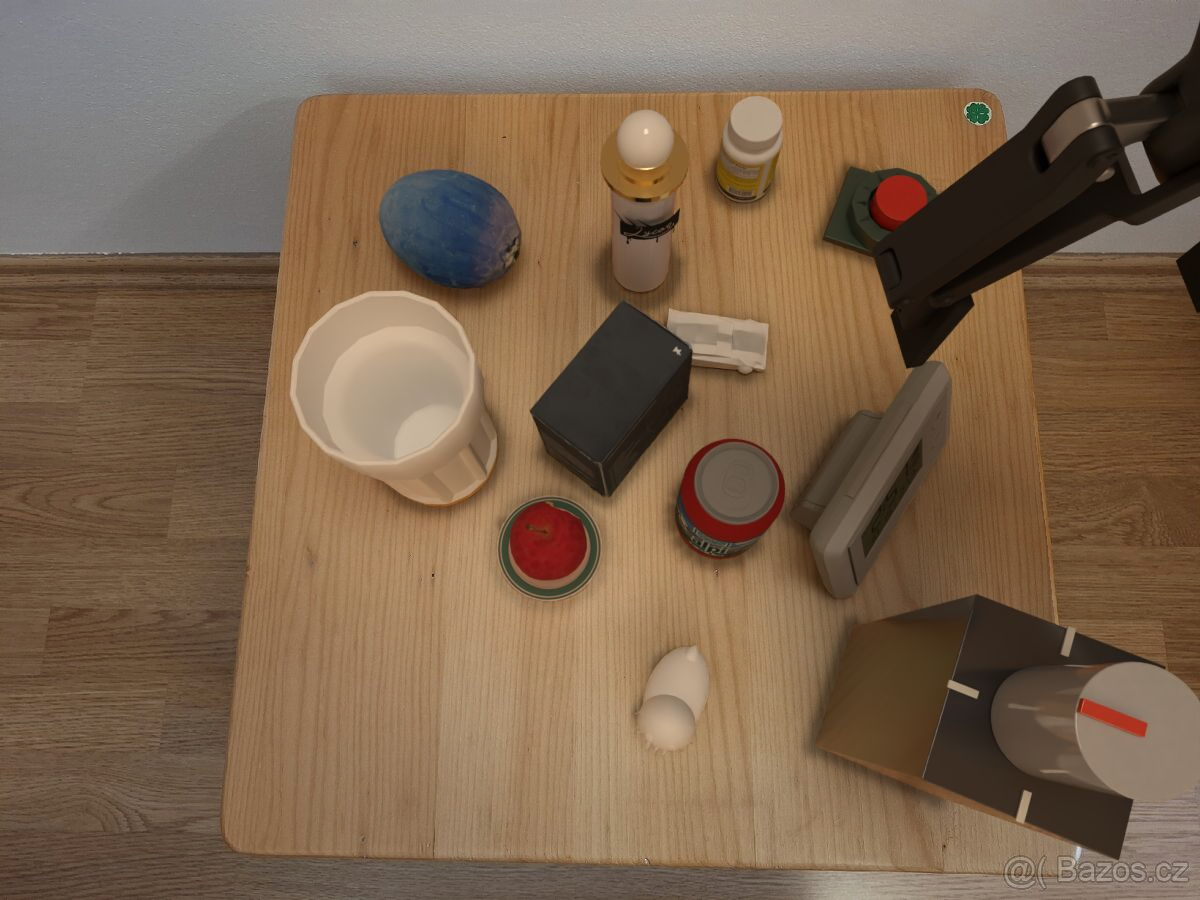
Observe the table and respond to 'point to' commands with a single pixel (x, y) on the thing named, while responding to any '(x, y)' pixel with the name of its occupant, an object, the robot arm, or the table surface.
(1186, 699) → the hob knob
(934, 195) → the button box
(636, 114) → the perfume bottle
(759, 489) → the beverage can
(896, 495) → the digital clock
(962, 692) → the pillar
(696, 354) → the toy car
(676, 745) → the toy creature
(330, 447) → the cup
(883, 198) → the button
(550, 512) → the apple
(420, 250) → the blue plum
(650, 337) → the box
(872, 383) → the table surface
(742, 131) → the supplement bottle
